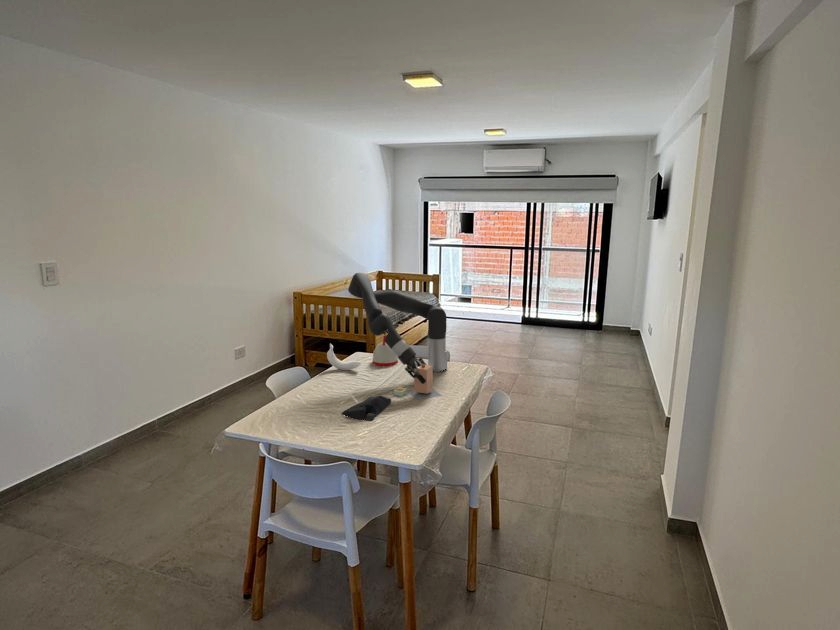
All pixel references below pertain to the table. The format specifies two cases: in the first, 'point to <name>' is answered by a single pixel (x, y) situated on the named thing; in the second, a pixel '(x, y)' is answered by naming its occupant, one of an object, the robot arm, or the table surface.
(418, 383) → the tan rectangular block
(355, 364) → the banana
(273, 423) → the table surface
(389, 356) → the kitchen timer
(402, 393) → the dish
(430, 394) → the mat
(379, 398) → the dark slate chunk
